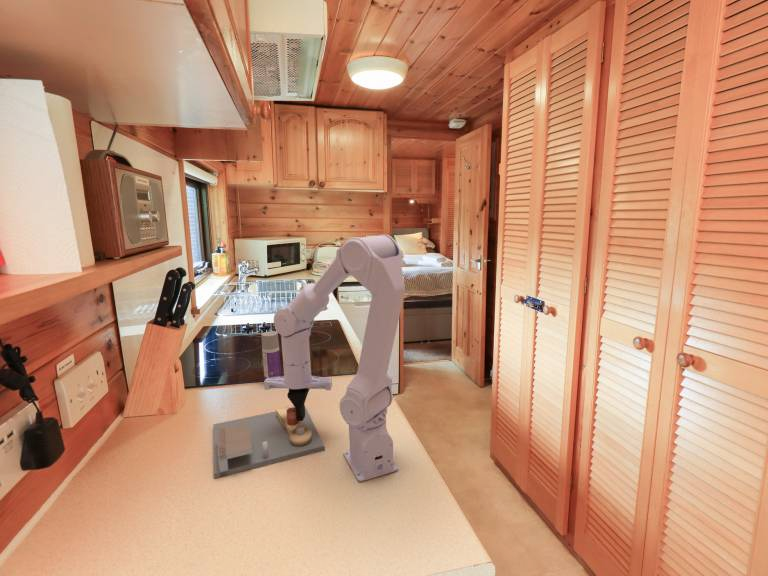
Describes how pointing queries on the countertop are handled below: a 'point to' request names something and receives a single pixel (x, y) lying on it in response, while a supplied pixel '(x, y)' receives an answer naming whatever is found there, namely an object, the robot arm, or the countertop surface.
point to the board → (266, 443)
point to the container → (271, 354)
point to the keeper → (232, 444)
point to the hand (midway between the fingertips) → (300, 418)
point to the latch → (294, 426)
